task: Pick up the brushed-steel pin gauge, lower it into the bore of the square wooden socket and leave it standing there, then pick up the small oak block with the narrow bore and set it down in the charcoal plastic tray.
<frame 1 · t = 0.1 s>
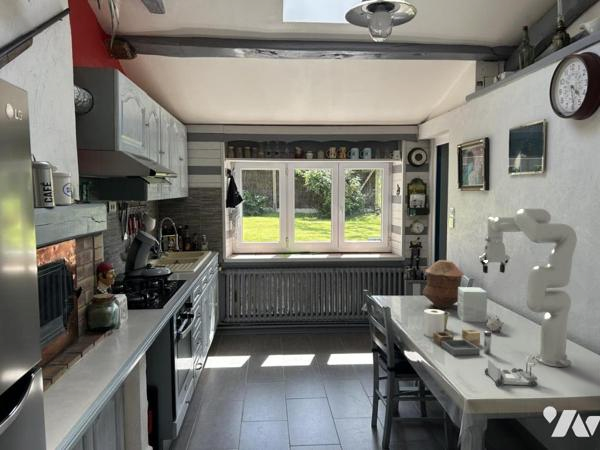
hand: (493, 272, 233), 31 cm above the table, tool pointing down, fingers open, 9 cm apart
flower pot: (440, 328, 238), on the table
supplement box: (471, 319, 257), on the table
square wooden socket: (442, 343, 213), on the table
pottery vessel: (442, 306, 285), on the table
game die: (493, 331, 233), on the table
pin: (487, 353, 201), on the table
toy car: (513, 382, 171), on the table
oak block: (470, 343, 215), on the table
toilet paper: (433, 334, 228), on the table
tray: (459, 350, 204), on the table
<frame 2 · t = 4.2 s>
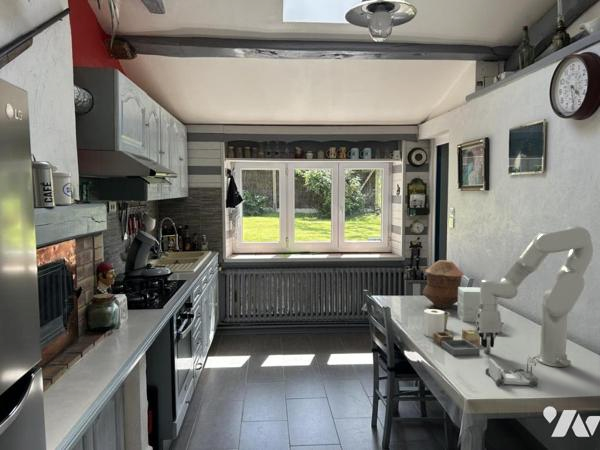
hand: (487, 346, 201), 3 cm above the table, tool pointing down, fingers closed on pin, 2 cm apart
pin: (487, 353, 201), on the table, touching gripper
everything else where it was.
when the fingers open (5 cm above the table, at t = 9.9 s): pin drops 2 cm, resting in square wooden socket.
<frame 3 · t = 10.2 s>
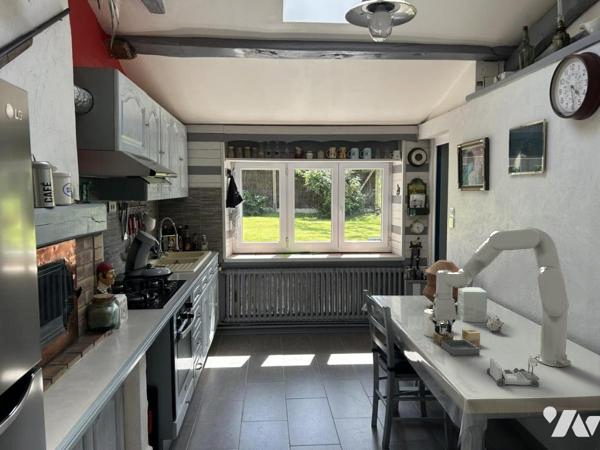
hand: (443, 332, 213), 5 cm above the table, tool pointing down, fingers open, 5 cm apart
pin: (443, 343, 213), resting in square wooden socket
everything else where it was.
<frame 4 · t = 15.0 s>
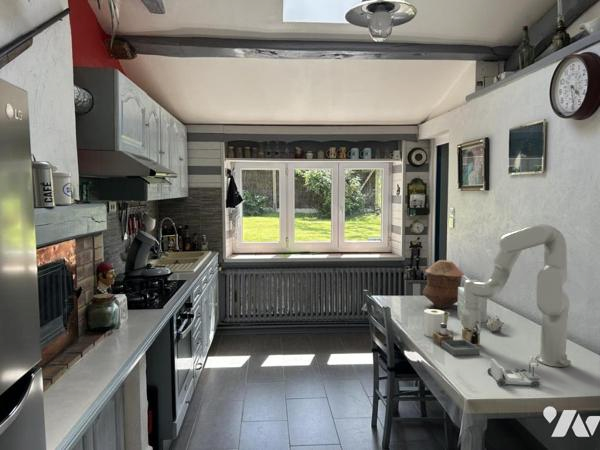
hand: (470, 341, 215), 1 cm above the table, tool pointing down, fingers closed on oak block, 6 cm apart
oak block: (470, 342, 215), on the table, touching gripper
when the fingers open (3 cm above the table, at t = 20.7 s): oak block drops 1 cm, resting on tray.
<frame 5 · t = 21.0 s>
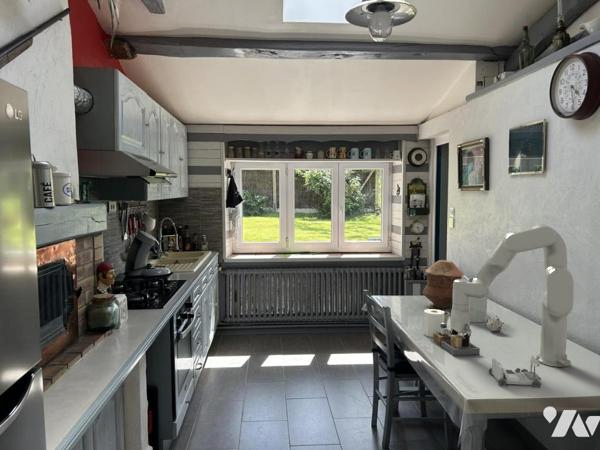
hand: (459, 343, 203), 4 cm above the table, tool pointing down, fingers open, 9 cm apart
oak block: (460, 349, 203), point 1 cm above the table, touching tray
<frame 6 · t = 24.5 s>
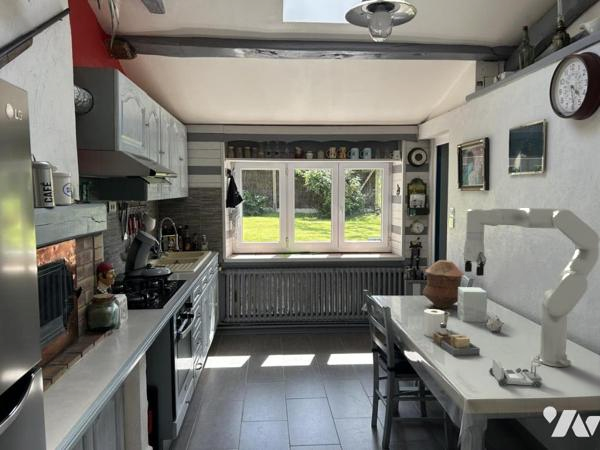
hand: (473, 273, 200), 36 cm above the table, tool pointing down, fingers open, 9 cm apart
at the end: oak block inside the target area on the tray (0.1 cm from its centre), point 0.6 cm above the tray's base; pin 0.1 cm from the square wooden socket (horizontally); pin resting in square wooden socket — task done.
